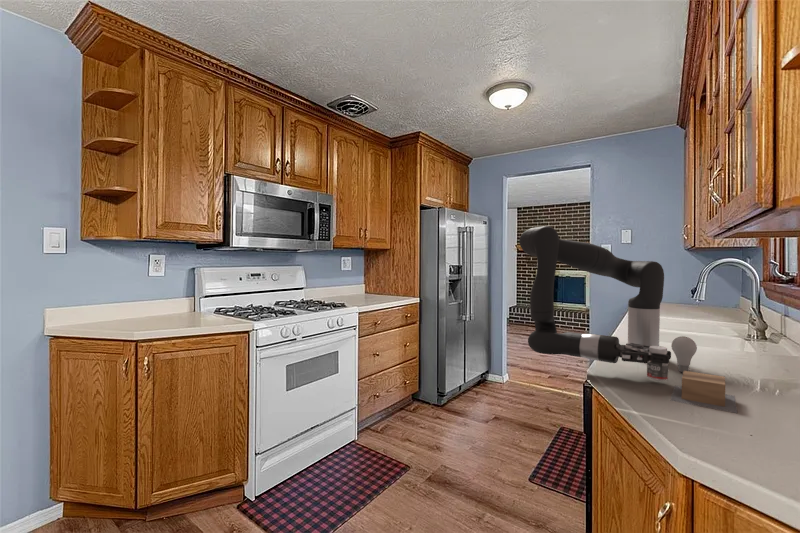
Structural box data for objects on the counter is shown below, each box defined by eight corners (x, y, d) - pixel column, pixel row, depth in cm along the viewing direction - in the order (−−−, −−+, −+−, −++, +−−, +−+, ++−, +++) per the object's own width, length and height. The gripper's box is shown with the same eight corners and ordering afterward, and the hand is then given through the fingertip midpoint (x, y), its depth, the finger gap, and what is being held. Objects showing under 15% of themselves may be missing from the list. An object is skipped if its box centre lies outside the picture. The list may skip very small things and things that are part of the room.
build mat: (674, 387, 103) (674, 385, 103) (734, 397, 96) (734, 395, 96) (670, 401, 92) (670, 400, 92) (737, 414, 85) (737, 413, 85)
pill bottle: (642, 376, 106) (643, 346, 106) (654, 374, 108) (654, 344, 108) (660, 381, 102) (661, 350, 102) (671, 379, 104) (672, 348, 103)
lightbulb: (665, 371, 118) (666, 335, 117) (680, 369, 120) (681, 334, 119) (686, 377, 112) (687, 339, 112) (701, 375, 114) (702, 337, 114)
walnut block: (683, 390, 100) (683, 370, 99) (724, 397, 95) (724, 376, 94) (681, 398, 93) (681, 377, 93) (725, 406, 88) (725, 384, 88)
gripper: (593, 339, 108) (667, 348, 97) (604, 331, 119) (672, 338, 109) (593, 365, 108) (667, 378, 98) (604, 355, 119) (672, 365, 109)
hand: (669, 357), depth 103 cm, fingers closed on pill bottle, 4 cm apart
